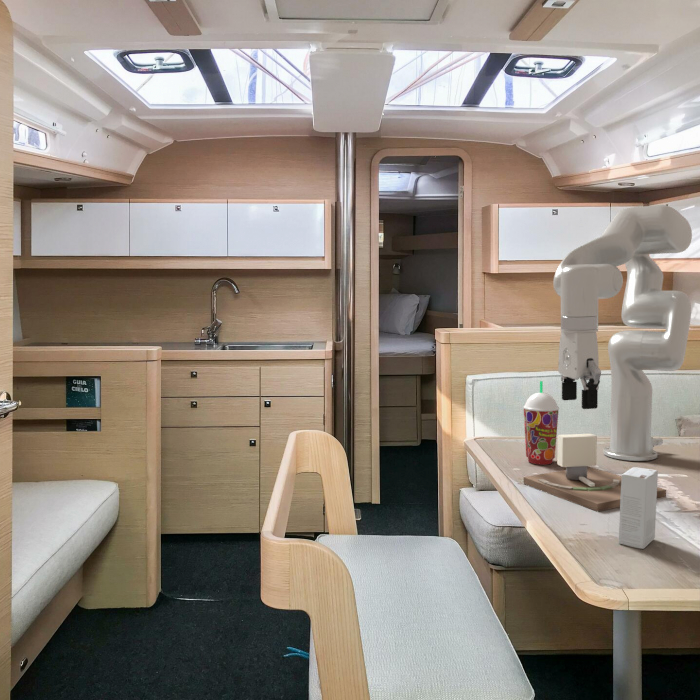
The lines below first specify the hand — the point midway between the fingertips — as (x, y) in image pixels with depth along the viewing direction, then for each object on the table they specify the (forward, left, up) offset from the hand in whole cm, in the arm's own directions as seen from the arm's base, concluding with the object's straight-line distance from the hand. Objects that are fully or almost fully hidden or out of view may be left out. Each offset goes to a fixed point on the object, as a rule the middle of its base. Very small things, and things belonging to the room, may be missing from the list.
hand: (579, 404), depth 145 cm
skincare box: (+16, +29, -18) cm, 38 cm away
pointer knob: (+2, +3, -16) cm, 16 cm away
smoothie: (-6, -19, -18) cm, 27 cm away
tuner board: (0, +4, -18) cm, 18 cm away
